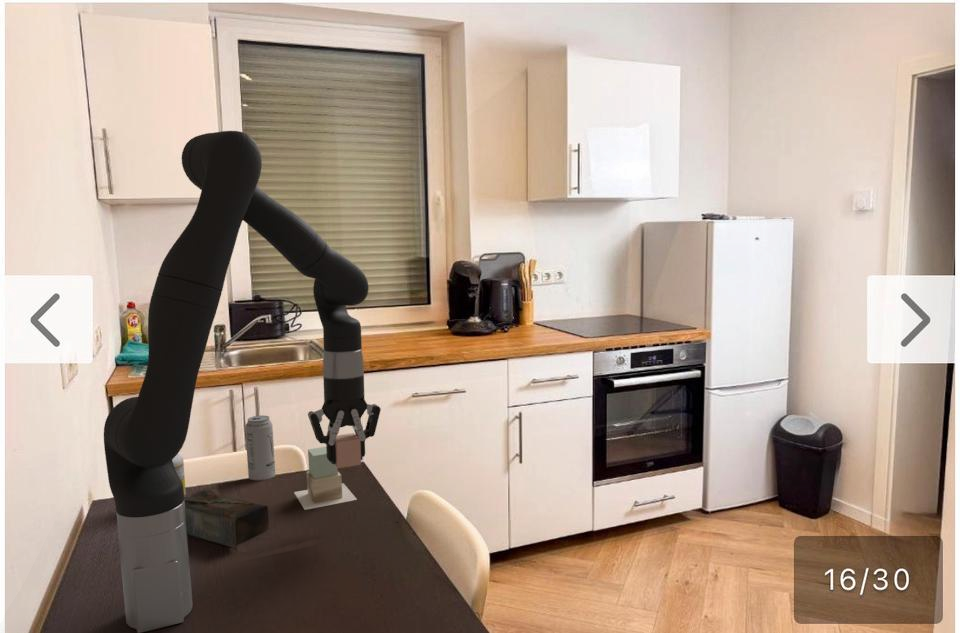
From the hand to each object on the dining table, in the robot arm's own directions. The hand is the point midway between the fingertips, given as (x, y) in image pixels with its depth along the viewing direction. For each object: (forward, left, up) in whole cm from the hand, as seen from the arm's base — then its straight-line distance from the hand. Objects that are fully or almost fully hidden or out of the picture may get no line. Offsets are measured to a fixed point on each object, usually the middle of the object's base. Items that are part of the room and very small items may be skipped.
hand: (346, 460), depth 131 cm
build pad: (+17, +1, -14) cm, 21 cm away
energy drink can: (+37, +11, -14) cm, 41 cm away
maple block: (+17, +1, -13) cm, 21 cm away
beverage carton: (+11, +22, -14) cm, 29 cm away
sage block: (+16, +1, -8) cm, 18 cm away
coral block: (0, 0, 0) cm, 1 cm away
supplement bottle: (+33, +31, -14) cm, 47 cm away
